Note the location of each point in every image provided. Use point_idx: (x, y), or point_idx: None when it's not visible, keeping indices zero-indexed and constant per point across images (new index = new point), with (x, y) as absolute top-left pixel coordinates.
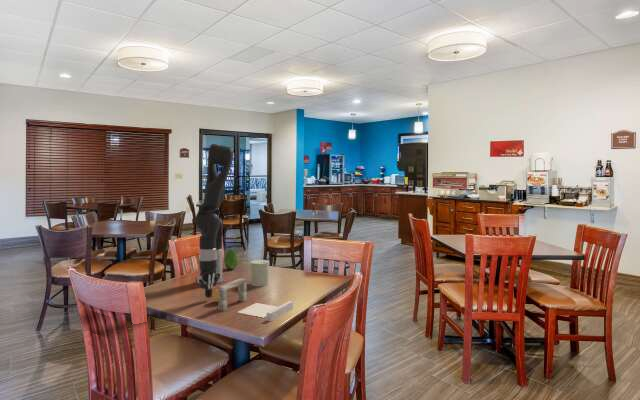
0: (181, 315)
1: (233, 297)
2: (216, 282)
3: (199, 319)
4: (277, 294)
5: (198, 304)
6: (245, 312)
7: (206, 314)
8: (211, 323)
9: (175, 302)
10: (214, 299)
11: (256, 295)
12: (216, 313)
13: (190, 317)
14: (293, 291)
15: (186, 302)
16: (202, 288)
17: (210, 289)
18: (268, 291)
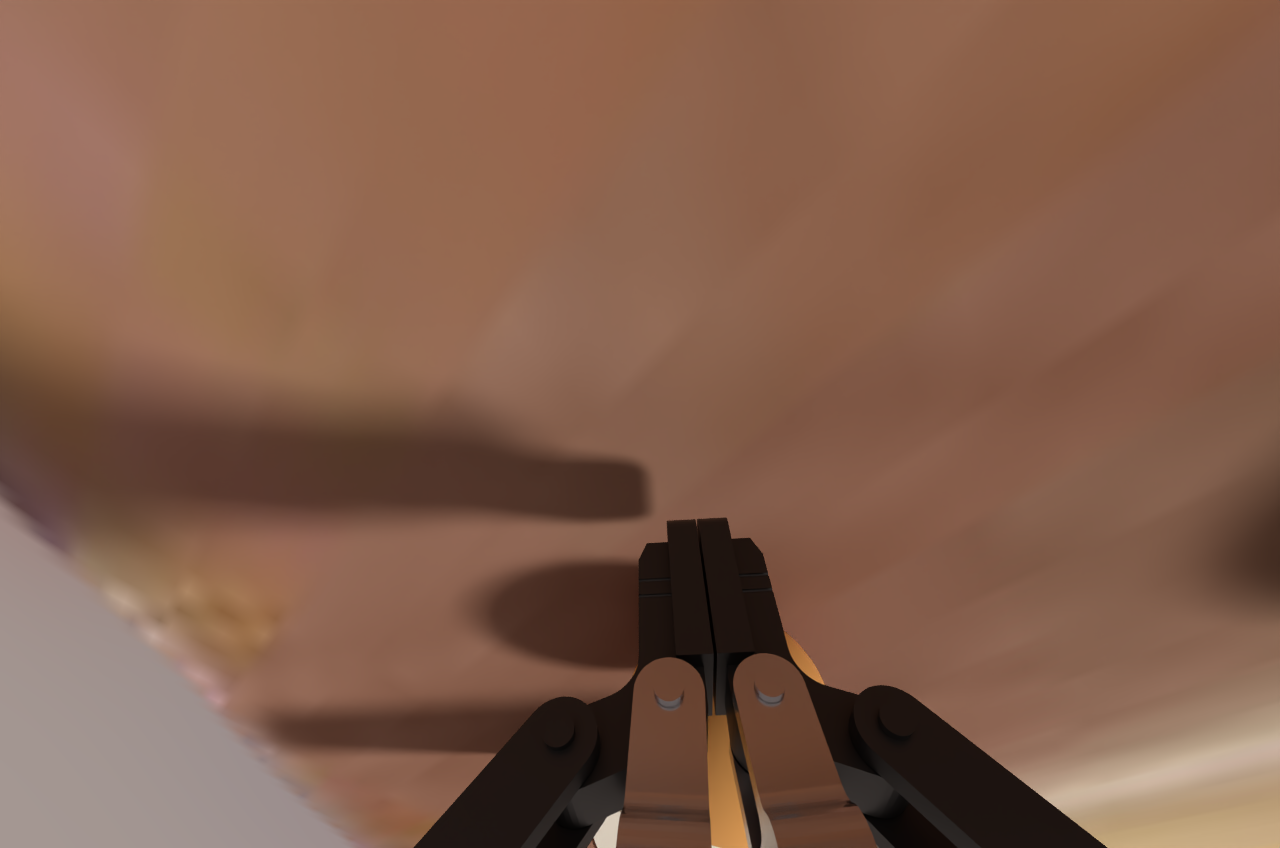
0: (132, 611)
1: (946, 625)
2: (950, 841)
3: (273, 744)
4: (1138, 794)
5: (481, 504)
6: (615, 836)
7: (378, 722)
8: (322, 808)
9: (150, 37)
10: (635, 670)
11: (1079, 723)
12: (460, 750)
13: (213, 688)
14: (1247, 821)
15: (377, 277)
16: (552, 716)
17: (715, 707)
18: (1254, 730)
